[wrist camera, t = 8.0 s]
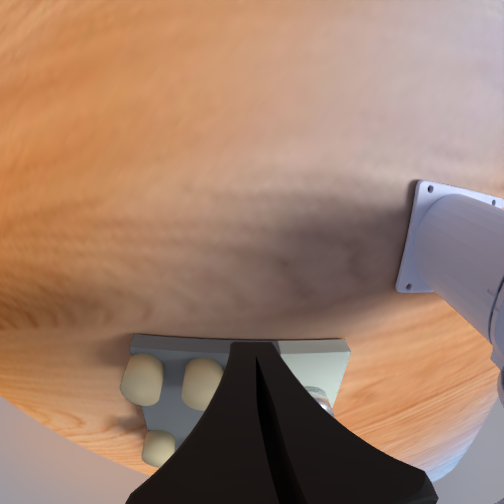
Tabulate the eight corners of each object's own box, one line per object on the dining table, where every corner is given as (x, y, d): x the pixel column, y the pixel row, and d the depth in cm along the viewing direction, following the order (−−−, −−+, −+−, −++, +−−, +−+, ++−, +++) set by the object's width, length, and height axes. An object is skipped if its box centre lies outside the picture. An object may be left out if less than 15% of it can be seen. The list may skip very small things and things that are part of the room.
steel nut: (329, 382, 21) (336, 401, 19) (325, 414, 23) (331, 433, 21) (275, 390, 21) (279, 410, 19) (276, 422, 22) (280, 442, 20)
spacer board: (344, 339, 22) (363, 374, 18) (307, 451, 27) (314, 482, 23) (130, 333, 20) (115, 370, 16) (155, 450, 25) (150, 482, 22)
